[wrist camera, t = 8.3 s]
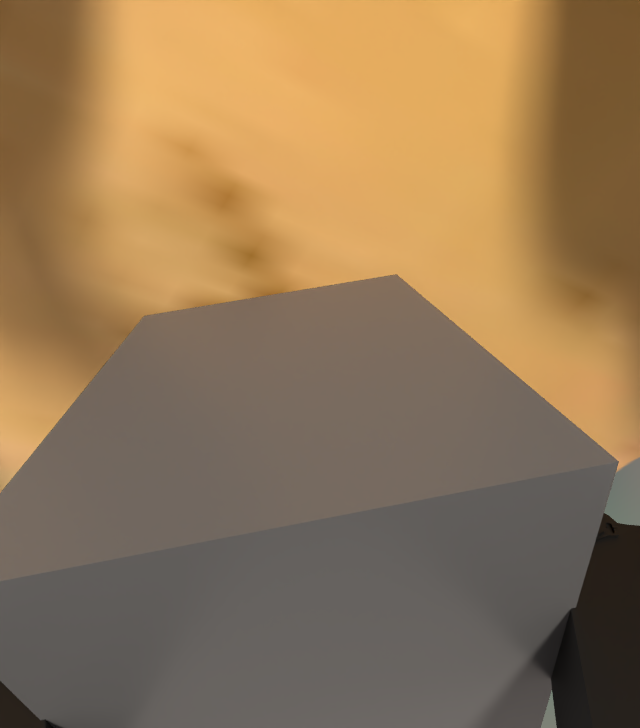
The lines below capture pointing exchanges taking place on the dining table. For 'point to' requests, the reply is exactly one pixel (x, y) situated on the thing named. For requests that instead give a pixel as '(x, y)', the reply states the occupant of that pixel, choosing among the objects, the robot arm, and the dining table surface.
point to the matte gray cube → (298, 526)
